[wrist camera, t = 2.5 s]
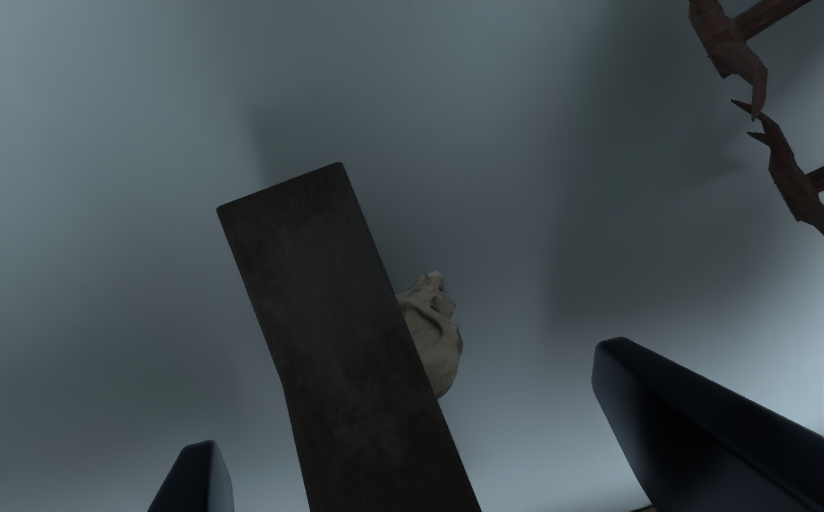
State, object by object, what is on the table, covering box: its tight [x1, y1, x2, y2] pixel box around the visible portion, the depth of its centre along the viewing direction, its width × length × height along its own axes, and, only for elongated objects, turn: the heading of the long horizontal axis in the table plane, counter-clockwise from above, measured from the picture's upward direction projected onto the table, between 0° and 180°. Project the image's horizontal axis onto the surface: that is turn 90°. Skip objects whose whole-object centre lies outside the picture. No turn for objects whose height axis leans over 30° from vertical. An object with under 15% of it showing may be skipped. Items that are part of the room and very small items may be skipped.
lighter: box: [216, 162, 482, 512], centre depth 9 cm, size 8×2×5 cm
